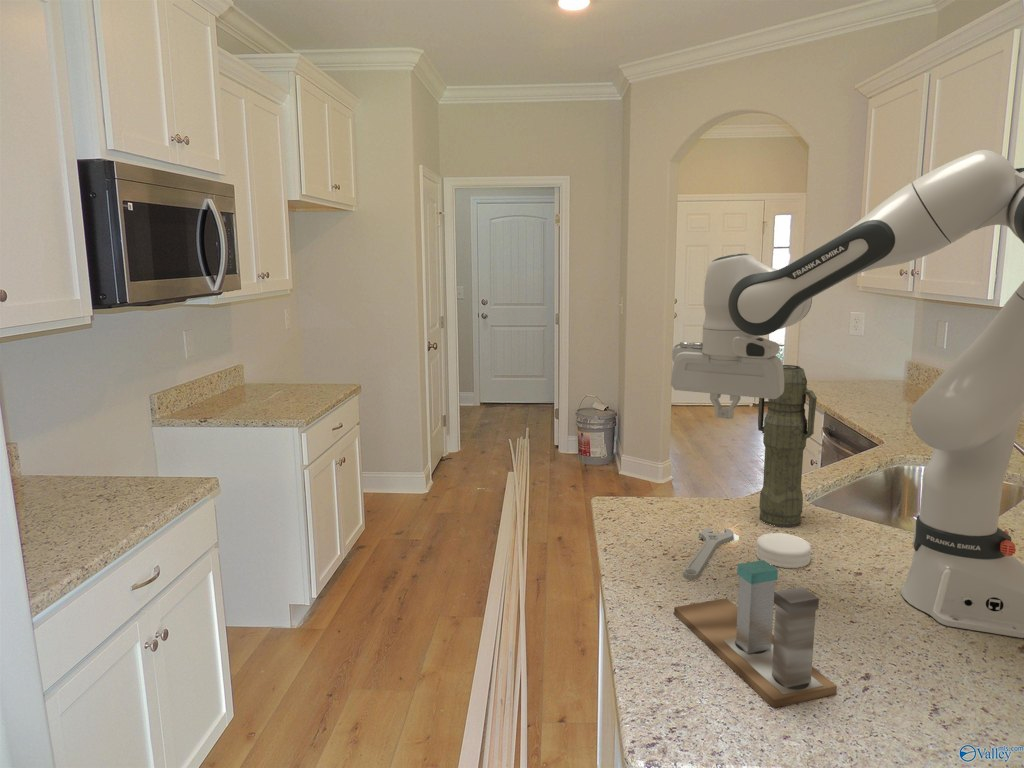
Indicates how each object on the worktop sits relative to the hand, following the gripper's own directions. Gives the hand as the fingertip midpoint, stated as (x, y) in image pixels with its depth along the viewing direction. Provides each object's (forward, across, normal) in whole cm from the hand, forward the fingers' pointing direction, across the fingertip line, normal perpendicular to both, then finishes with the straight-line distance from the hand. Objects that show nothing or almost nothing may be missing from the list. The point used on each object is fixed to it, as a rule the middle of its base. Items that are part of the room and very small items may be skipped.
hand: (724, 417), depth 130 cm
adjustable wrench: (+30, -4, +3) cm, 30 cm away
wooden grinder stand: (+29, +13, -28) cm, 42 cm away
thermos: (+29, +5, +29) cm, 42 cm away
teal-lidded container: (+28, +14, -29) cm, 42 cm away
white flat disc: (+29, +10, +9) cm, 32 cm away
